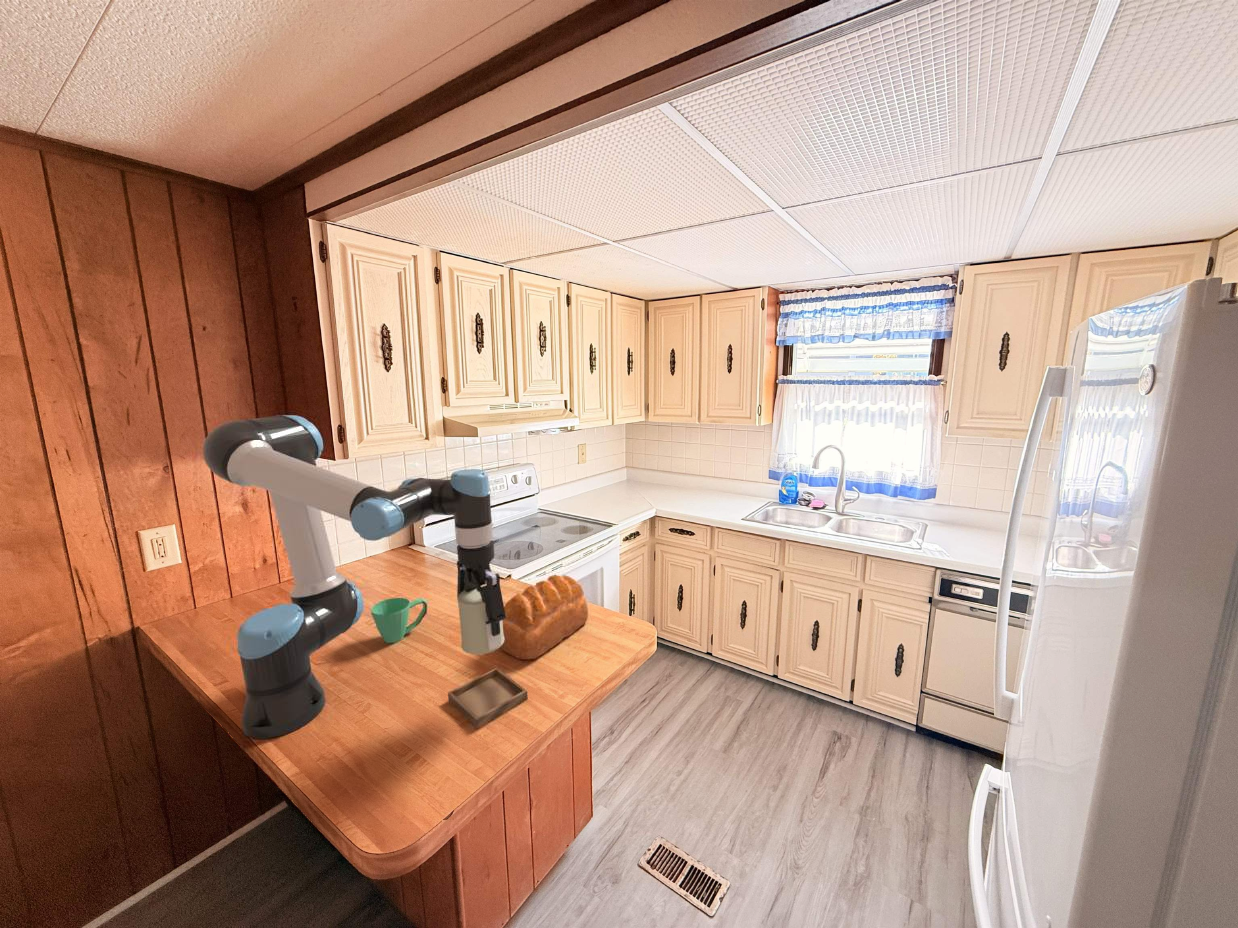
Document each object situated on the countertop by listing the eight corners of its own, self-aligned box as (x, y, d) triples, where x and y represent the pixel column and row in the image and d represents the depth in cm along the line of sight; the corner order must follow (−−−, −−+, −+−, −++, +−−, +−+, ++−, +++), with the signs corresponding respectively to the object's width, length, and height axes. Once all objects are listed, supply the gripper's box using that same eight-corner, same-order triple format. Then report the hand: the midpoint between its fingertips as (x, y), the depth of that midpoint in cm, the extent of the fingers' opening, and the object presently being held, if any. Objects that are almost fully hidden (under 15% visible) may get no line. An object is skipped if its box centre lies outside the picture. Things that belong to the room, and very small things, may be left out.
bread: (493, 649, 129) (489, 596, 126) (558, 608, 151) (556, 562, 148) (531, 666, 122) (527, 610, 119) (593, 620, 143) (592, 572, 140)
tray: (477, 728, 101) (476, 720, 100) (448, 700, 109) (447, 692, 109) (527, 698, 109) (527, 690, 109) (497, 675, 118) (496, 667, 118)
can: (481, 659, 100) (477, 606, 98) (452, 646, 105) (447, 596, 103) (513, 638, 108) (509, 588, 105) (484, 627, 113) (480, 579, 110)
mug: (380, 652, 128) (375, 618, 126) (371, 637, 136) (366, 604, 134) (435, 633, 137) (432, 601, 136) (424, 619, 145) (420, 589, 143)
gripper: (519, 549, 97) (525, 650, 101) (466, 527, 112) (473, 615, 116) (486, 560, 92) (494, 666, 96) (435, 535, 107) (444, 628, 111)
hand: (483, 638), depth 106 cm, fingers closed on can, 9 cm apart
